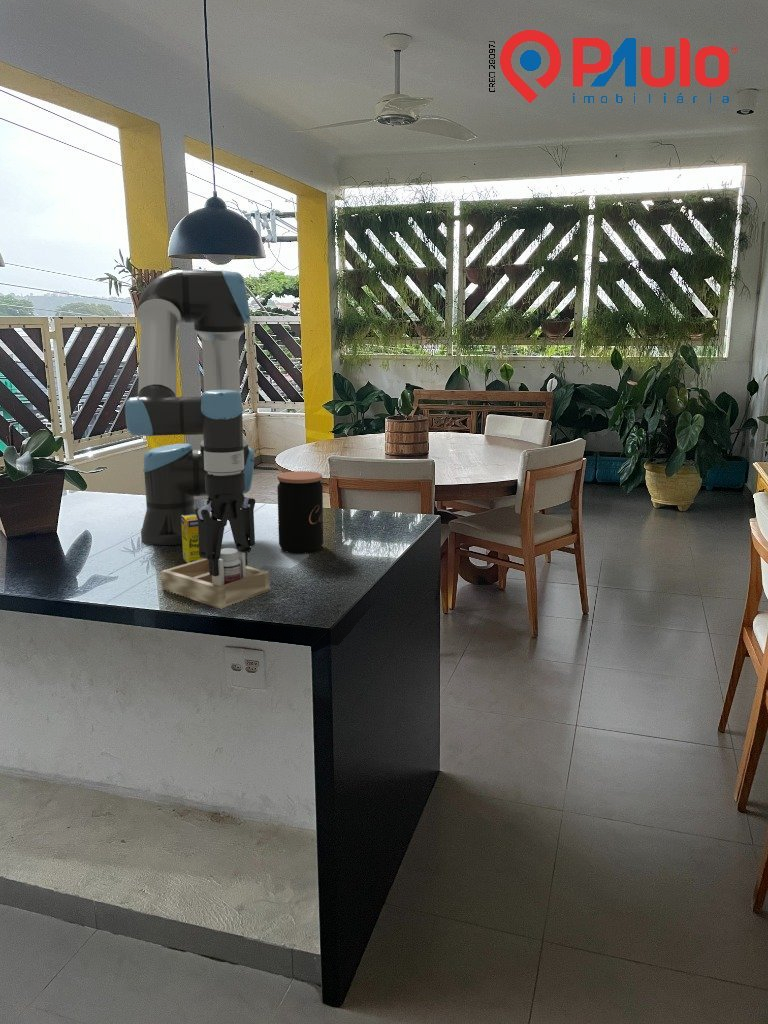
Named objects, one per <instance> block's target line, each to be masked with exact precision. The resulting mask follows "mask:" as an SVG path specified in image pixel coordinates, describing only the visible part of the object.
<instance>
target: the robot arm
mask: <svg viewBox="0 0 768 1024" xmlns="http://www.w3.org/2000/svg"><path fill="white" fill-rule="evenodd" d="M136 320H137V323H138V324H139V326H140V339H139V341H140V342H139V361H138V362H139V363H138V364H139V365H138V382H137V384H138V385H137V396H134V397H128V398H127V399H126V402H125V409H124V410H125V413H124V415H125V424H126V429H127V431H128V434H130V435H133V436H146V437H153V436H177V435H178V436H182V435H183V436H184V435H186V436H187V435H188V436H190V435H191V436H192V435H195V436H198V435H202V438H203V439H202V440H201V441H200V445H199V446H200V449H193V446H192V444H190V443H174V444H167V445H160V446H158V447H153V448H151V449H149V450H148V451H146V452H145V453H144V456H143V469H142V471H143V472H144V483H145V484H144V486H145V487H144V488H145V489H144V490H145V502H146V503H145V504H146V510H145V515H144V517H143V522H142V523H143V524H142V527H141V529H140V535H141V536H140V537H141V541H142V542H143V543H145V544H149V545H156V546H173V545H174V546H176V545H182V525H181V515H191V514H196V516H197V519H198V535H199V556H200V557H202V558H205V559H208V560H209V573H210V575H212V583H213V584H216V585H219V586H222V585H224V565H223V559H220V553H221V549H222V546H223V538H224V533H225V527H226V526H227V524H228V523H229V526H230V529H231V534H232V538H233V541H234V542H233V543H234V546H235V549H237V550H238V555H239V557H238V559H239V560H240V562H241V579H243V578H246V566H248V553H251V551H252V548H253V547H254V546H256V538H255V537H256V534H255V514H254V513H255V512H254V511H255V505H256V499H255V498H251V497H246V496H245V494H248V492H249V491H250V490H251V488H252V483H253V478H254V469H255V468H254V466H255V463H254V462H255V450H254V449H253V448H251V447H249V441H248V440H247V439H246V438H245V437H244V428H243V427H244V426H243V423H244V422H243V412H244V411H243V410H244V406H243V402H242V394H241V381H240V380H241V376H240V350H239V347H240V346H239V345H240V344H239V339H240V337H241V335H242V334H244V332H245V324H246V325H247V324H249V323H251V314H250V306H249V301H248V294H247V290H246V283H245V279H244V276H243V275H242V274H241V273H240V272H236V271H227V270H222V269H221V270H183V269H174V270H170V271H167V272H164V273H161V274H160V275H159V276H157V277H156V278H154V279H153V280H152V281H151V282H150V283H149V284H148V285H147V286H146V287H145V288H144V290H143V291H142V293H141V295H140V297H139V300H138V302H137V307H136ZM181 323H193V327H194V332H195V333H196V334H197V335H198V336H199V337H200V338H201V354H202V357H201V359H202V375H203V376H202V377H203V379H202V380H203V392H202V394H201V396H177V374H178V373H177V371H178V370H177V358H178V357H177V350H178V349H177V345H178V344H177V343H178V342H177V338H178V335H177V331H178V329H179V328H180V326H181ZM195 497H207V500H206V505H204V506H203V507H196V506H195V505H196V504H195ZM210 517H211V518H210ZM213 552H214V553H213Z"/></svg>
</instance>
